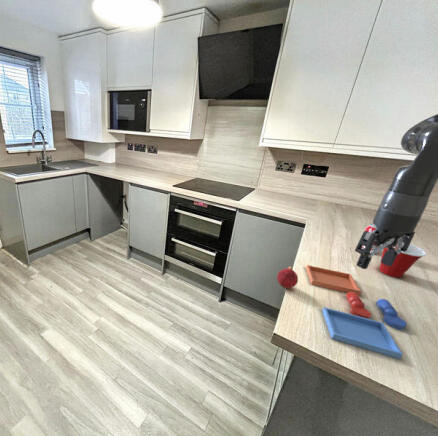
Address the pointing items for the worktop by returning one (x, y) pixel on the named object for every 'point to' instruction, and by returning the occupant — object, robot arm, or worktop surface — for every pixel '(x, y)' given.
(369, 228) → the soda can
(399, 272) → the plastic cup
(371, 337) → the blue tray
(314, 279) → the terracotta tray
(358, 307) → the red sausage
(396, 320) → the blue elongated piece
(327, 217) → the worktop surface
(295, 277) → the red textured round fruit
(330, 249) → the worktop surface
